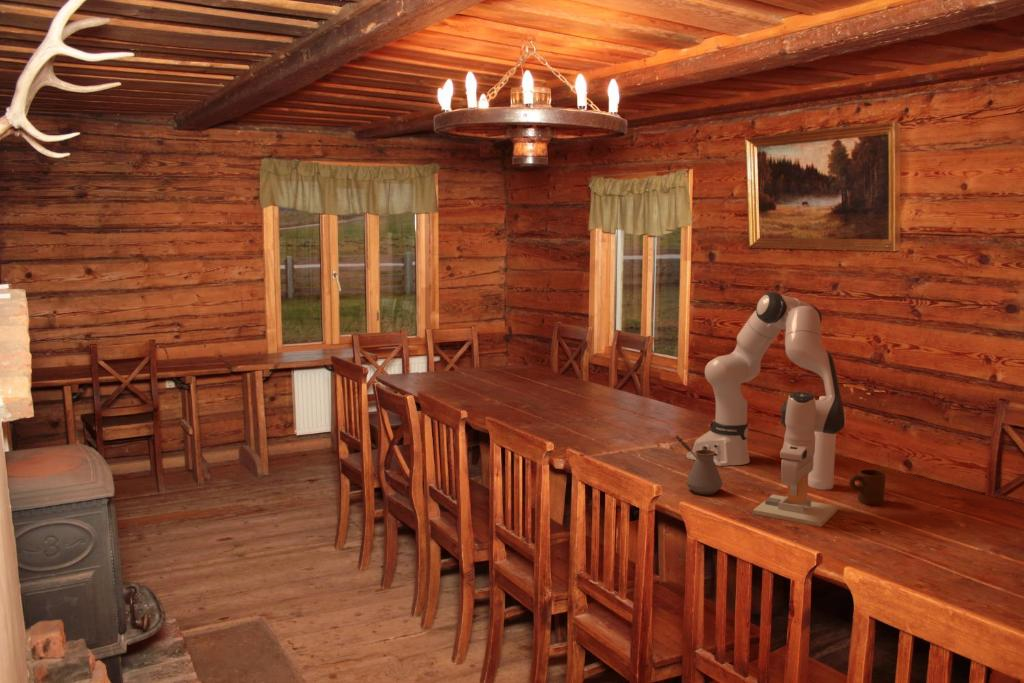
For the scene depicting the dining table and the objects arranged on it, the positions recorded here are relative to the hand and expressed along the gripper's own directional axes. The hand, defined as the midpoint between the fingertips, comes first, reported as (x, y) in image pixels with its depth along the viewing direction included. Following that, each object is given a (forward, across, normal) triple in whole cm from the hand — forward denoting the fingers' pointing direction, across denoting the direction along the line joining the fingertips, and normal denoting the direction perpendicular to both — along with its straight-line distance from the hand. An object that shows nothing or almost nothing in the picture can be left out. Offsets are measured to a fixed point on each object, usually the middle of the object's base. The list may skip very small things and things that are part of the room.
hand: (797, 492), depth 269 cm
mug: (+6, -21, +15) cm, 26 cm away
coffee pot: (+6, -6, -35) cm, 36 cm away
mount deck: (+6, 0, 0) cm, 6 cm away
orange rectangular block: (+3, 0, 0) cm, 3 cm away
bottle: (+6, -30, -1) cm, 31 cm away
